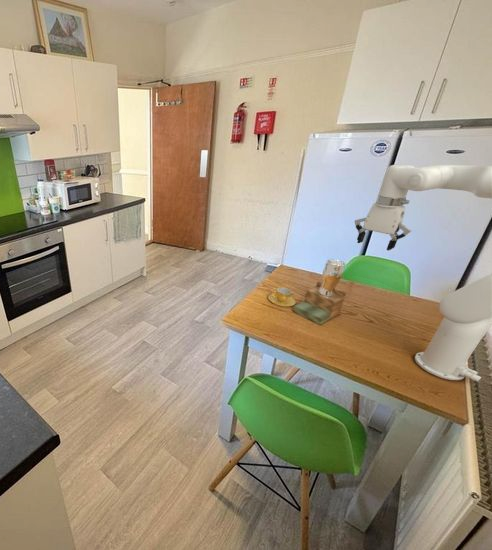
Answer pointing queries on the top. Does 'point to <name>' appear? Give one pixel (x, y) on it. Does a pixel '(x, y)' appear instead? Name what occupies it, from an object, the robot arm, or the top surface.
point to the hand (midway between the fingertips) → (374, 245)
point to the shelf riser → (320, 305)
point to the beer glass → (331, 277)
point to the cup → (282, 297)
